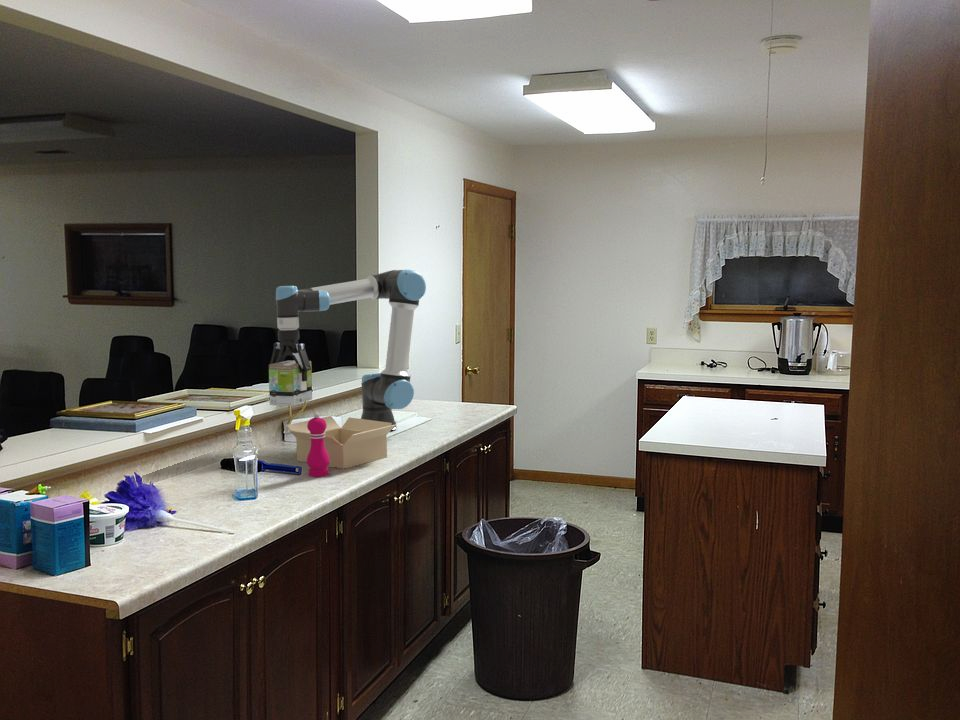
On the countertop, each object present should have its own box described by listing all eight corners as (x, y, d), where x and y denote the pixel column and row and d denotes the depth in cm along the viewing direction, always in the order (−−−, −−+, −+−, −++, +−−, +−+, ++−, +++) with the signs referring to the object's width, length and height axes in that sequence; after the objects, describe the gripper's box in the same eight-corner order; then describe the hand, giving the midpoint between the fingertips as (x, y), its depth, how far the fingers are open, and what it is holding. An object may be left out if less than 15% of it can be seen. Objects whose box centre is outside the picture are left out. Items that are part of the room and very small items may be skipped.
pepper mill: (322, 478, 263) (320, 415, 260) (302, 476, 265) (300, 414, 263) (334, 472, 269) (332, 411, 267) (315, 471, 272) (312, 410, 270)
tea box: (295, 406, 295) (293, 364, 293) (269, 405, 297) (267, 364, 296) (313, 399, 309) (311, 359, 308) (288, 399, 312) (286, 359, 310)
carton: (339, 446, 310) (338, 414, 309) (404, 456, 291) (403, 422, 290) (279, 461, 287) (277, 426, 286) (345, 473, 268) (344, 436, 267)
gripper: (257, 329, 304) (260, 388, 307) (303, 330, 291) (306, 392, 293) (273, 327, 311) (276, 385, 313) (319, 329, 297) (322, 390, 299)
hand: (291, 389), depth 303 cm, fingers closed on tea box, 12 cm apart
